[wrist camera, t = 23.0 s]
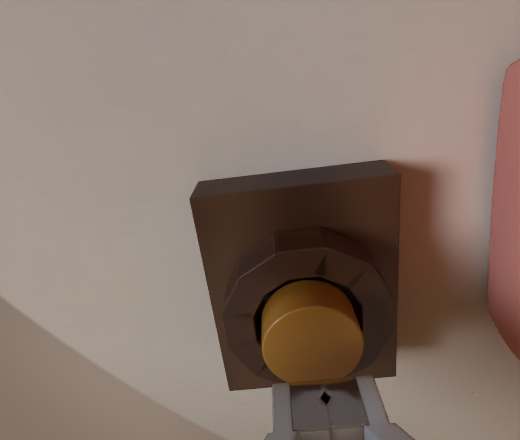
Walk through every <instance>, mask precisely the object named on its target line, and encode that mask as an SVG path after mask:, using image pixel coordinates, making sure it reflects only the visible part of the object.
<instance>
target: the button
mask: <svg viewBox="0 0 520 440" xmlns="http://www.w3.org/2000/svg"><path fill="white" fill-rule="evenodd" d="M363 349H364V338H363V334H362V331H361V328H360V326H359V323H358V320H357V317H356V315H355V312H354V309H353V306H352V304H351V302H350V300H349V299H348V297H347V296H346V295H345V294H344V293H343V292H342V291H341V290H340V289H339V288H337V287H335V286H334V285H331V284H329V283H326V282H323V281H318V280H301V281H296V282H293V283H290V284H287V285H285V286H283V287H282V288H280V289H279V290H277V291H276V292H275V293H274V294H273V295H272V296H271V297H270V298H269V300H268V301H267V303H266V304H265V307H264V309H263V313H262V355H263V358H264V361H265V363H266V364H267V366H268V368H269V369H270V370H271V371H272V372H273V373H274V374H275V375H276V376H277V377H279V378H280V379H282V380H284V381H286V382H288V383H289V382H302V381H319V380H326V379H336V378H343V377H345V376H346V375H348V374H349V373H350V372H351V371H352V370H353V369H354V368H355V367H356V366H357V364H358V363H359V361H360V359H361V357H362V354H363Z"/></svg>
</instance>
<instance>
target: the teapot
mask: <svg viewBox="0 0 520 440" xmlns="http://www.w3.org/2000/svg"><path fill="white" fill-rule="evenodd" d="M488 309H489V314H490V316H491V318H492V320H493V322H494V324H495V326H496V327H497V329H498V331H499V333H500V334H501V336H502V338H503V339H504V341H505V343H506V344H507V345H508V347H509V348H510V350H511V351H512V352H513V353H514V354H515V356H516V357H517V358H518V359H519V360H520V59H519V60H517V61H515V62H514V63H512V64H511V65H510V66H509V67H508V68H507V70H506V74H505V79H504V83H503V90H502V99H501V107H500V116H499V125H498V137H497V148H496V160H495V172H494V184H493V198H492V212H491V230H490V249H489V272H488Z"/></svg>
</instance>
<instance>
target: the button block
mask: <svg viewBox="0 0 520 440" xmlns="http://www.w3.org/2000/svg"><path fill="white" fill-rule="evenodd" d="M400 181H401V175H400V173H398V172H397V171H396V170H395V169H394V168H392V167H391V166H390V165H389V164H387V163H386V162H385V161H384V160H378V161H369V162H361V163H353V164H344V165H336V166H327V167H319V168H310V169H302V170H293V171H285V172H276V173H268V174H259V175H251V176H242V177H234V178H226V179H217V180H209V181H200V182H198V184H197V185H196V187H195V189H194V191H193V193H192V195H191V197H190V204H191V209H192V214H193V218H194V223H195V228H196V233H197V238H198V242H199V247H200V252H201V257H202V261H203V266H204V271H205V276H206V281H207V285H208V290H209V295H210V300H211V305H212V309H213V314H214V319H215V324H216V328H217V333H218V338H219V343H220V348H221V352H222V357H223V362H224V367H225V371H226V376H227V381H228V386H229V390H230V391H234V390H245V389H256V388H268V387H272V385H273V384H275V383H288V382H286V381H284V380H282V379H280V378H279V377H277V376H276V375H275V374H274V373H273V372H272V371H271V370H270V369H269V368H268V366H267V364H266V363H265V361H264V358H263V355H262V313H263V309H264V307H265V304H266V303H267V301H268V300H269V298H270V297H271V296H272V295H273V294H274V293H275V292H276V291H277V290H279V289H280V288H282V287H283V286H285V285H287V284H290V283H293V282H296V281H301V280H318V281H323V282H326V283H329V284H331V285H334V286H335V287H337V288H339V289H340V290H341V291H342V292H343V293H344V294H345V295H346V296H347V297H348V299H349V300H350V302H351V304H352V306H353V309H354V312H355V315H356V317H357V320H358V323H359V326H360V328H361V331H362V334H363V338H364V349H363V354H362V357H361V359H360V361H359V363H358V364H357V366H356V367H355V368H354V369H353V370H352V371H351V372H350V373H349V374H348V375H346V376H345V377H343V378H346V377H357V376H368V375H372V376H373V377H374V378H381V377H393V376H396V348H397V306H398V264H399V223H400ZM289 385H290V383H289Z"/></svg>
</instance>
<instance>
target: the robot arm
mask: <svg viewBox="0 0 520 440" xmlns="http://www.w3.org/2000/svg"><path fill="white" fill-rule="evenodd" d="M289 383H290V385H289ZM289 383H275V384H273V385H272V408H273V433H268V434H267V436H266V438H265V439H264V440H414V439H413V438H412V437H411V436H410V435H409V434H407V433H406V432H405V431H404V430H403V429H402V428H400V427H399V426H398V425H397V424H396V423H390V422H389V419H388V416H387V413H386V411H385V408H384V405H383V402H382V399H381V396H380V394H379V391H378V388H377V385H376V382H375V379H374V377H373V376H372V375H368V376H357V377H346V378H336V379H326V380H319V381H302V382H289Z"/></svg>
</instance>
